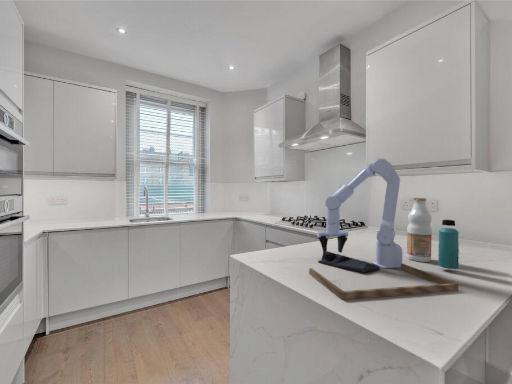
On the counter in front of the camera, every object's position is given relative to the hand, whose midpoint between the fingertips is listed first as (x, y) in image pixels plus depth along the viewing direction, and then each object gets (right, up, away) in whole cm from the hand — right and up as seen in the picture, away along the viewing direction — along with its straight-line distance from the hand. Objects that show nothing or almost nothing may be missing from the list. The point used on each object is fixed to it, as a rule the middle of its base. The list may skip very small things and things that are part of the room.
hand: (332, 252), depth 117 cm
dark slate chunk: (+3, -3, -12) cm, 12 cm away
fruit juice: (+39, -3, -1) cm, 39 cm away
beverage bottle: (+40, -3, -17) cm, 44 cm away
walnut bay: (+6, -3, -30) cm, 31 cm away
